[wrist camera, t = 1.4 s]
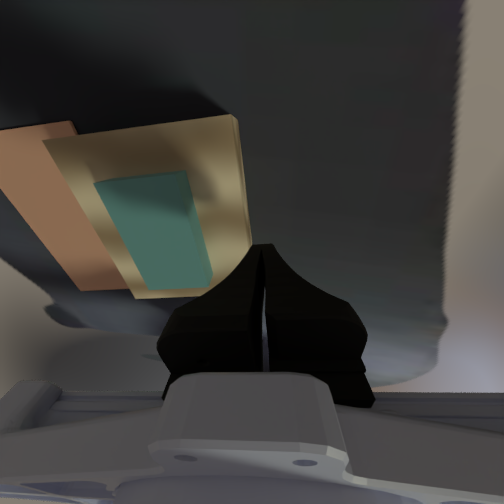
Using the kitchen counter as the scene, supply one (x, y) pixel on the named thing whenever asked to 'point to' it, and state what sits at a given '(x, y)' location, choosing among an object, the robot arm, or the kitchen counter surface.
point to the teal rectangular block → (159, 228)
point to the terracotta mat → (54, 206)
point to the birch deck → (159, 161)
